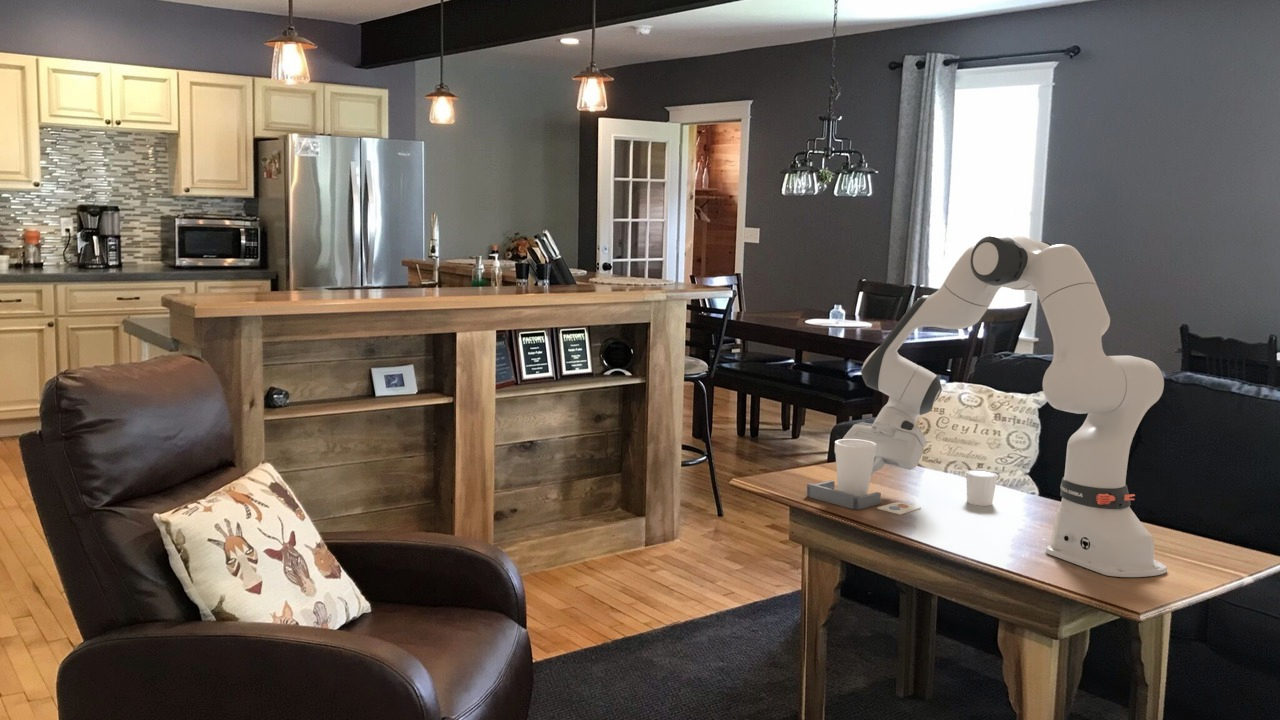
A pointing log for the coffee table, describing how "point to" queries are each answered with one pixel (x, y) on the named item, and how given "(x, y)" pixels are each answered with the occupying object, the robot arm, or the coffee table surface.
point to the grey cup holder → (841, 496)
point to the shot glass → (980, 487)
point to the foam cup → (854, 465)
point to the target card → (898, 508)
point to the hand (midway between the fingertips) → (864, 474)
